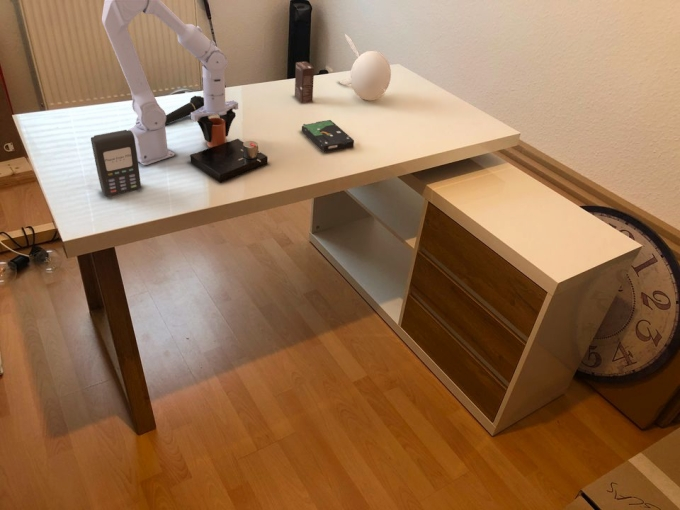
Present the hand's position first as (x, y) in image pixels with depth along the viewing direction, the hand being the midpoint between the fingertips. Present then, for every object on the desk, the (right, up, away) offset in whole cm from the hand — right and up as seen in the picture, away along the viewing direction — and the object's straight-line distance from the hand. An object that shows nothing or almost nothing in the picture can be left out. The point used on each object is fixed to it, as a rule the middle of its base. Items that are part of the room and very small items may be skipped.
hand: (216, 138), depth 157 cm
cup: (0, -2, +1) cm, 2 cm away
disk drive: (+31, +1, +10) cm, 33 cm away
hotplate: (+5, -8, -7) cm, 12 cm away
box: (+23, +20, +32) cm, 44 cm away
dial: (+11, -6, -7) cm, 15 cm away
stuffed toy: (+43, +24, +40) cm, 63 cm away
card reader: (-18, -18, -22) cm, 34 cm away
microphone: (-14, +8, +12) cm, 20 cm away
